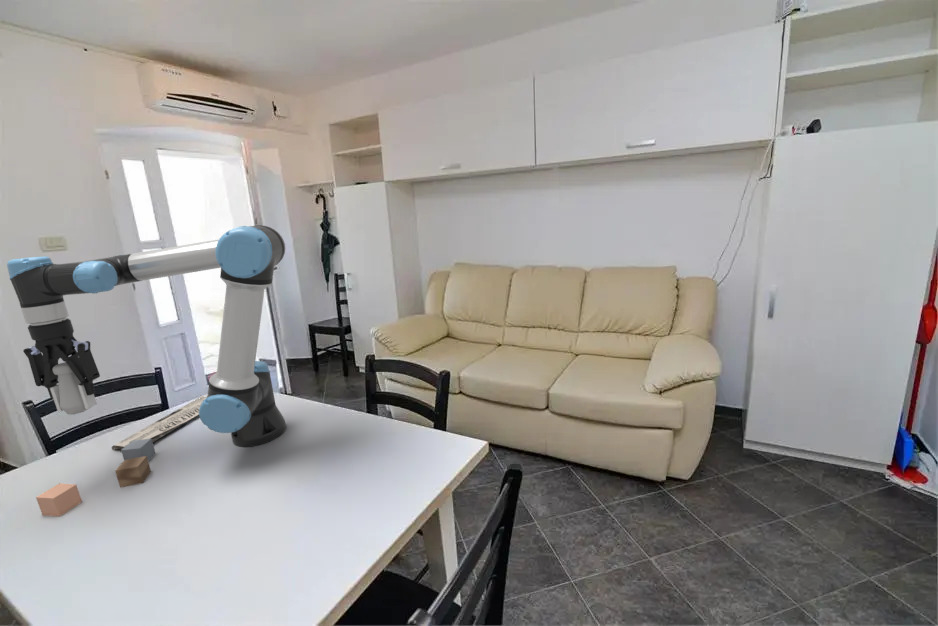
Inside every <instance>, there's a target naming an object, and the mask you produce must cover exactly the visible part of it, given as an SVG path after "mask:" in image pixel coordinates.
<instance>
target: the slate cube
mask: <svg viewBox="0 0 938 626" xmlns="http://www.w3.org/2000/svg"><path fill="white" fill-rule="evenodd" d="M120 451H121V455H122V458H123V461H124V460H127V459H132V458H138V457H143V456H147V459H148V461H150V460H151V459H152V457H154V456H156V454H157V453H156V449H155V446H154V442H152V439H143V440H134V441H132V442H131V443H129V444H128V445H127V446H126V447H124V448H123V449H120Z"/></svg>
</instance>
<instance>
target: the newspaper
mask: <svg viewBox="0 0 938 626" xmlns="http://www.w3.org/2000/svg"><path fill="white" fill-rule="evenodd" d="M207 395H208V394H205V395H201V396H199V397H198V398H196V399H194V400H195V401H194V400H192V401H190V402H188V403H187V404H185V405H184V406H181V407H180V408H178V409H176V410H174V411H172V412H170V413H169V414H167V415H166V416H164V417H161V418H160V419H158V420H156V421H155V422H153V423H150V424H149V425H148V426H146V427H144V428H142V429H139V431H137V432H135V433H133V434H131V435H130V436H128V437H126V438H124V439H122V440H121V441H119V442H117V443H115V444H113V445H112V446H111V450H112V451H113V450H122V449H123V448H124V447H126V446H127V445H128V444H129V443H131V442H132V441H134V440H143V439H152V442H153V443H154V442H156V441H158V440H159V439H161V438H163V437H164V436H166V435H167V434H169V433H171V432H173V431H174V430H176V429H178V428H179V427H181V426H183V425H184V424H186V423H187V422H190V421H191V420H193V419H194V418H196V417H198V416H199V408H200V406H201V403H202V402H203V400H205V399H206V398H207ZM204 396H206V397H204ZM199 398H200V399H199Z"/></svg>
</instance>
